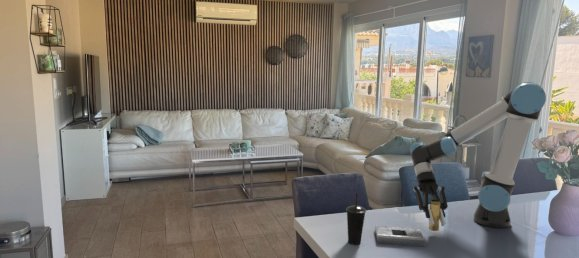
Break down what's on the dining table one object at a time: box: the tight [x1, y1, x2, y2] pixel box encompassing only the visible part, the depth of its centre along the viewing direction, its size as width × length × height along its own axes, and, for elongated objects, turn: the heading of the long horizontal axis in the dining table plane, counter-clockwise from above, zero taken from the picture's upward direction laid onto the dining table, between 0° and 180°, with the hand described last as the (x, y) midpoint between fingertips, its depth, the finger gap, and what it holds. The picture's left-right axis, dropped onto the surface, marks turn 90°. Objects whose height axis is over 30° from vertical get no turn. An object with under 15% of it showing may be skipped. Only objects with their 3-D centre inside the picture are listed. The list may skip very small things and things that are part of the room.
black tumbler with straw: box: [345, 192, 367, 246], centre depth 162 cm, size 8×8×20 cm
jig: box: [374, 225, 426, 247], centre depth 168 cm, size 18×12×3 cm, turn 83°
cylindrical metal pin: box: [428, 199, 441, 232], centre depth 171 cm, size 4×4×12 cm
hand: (438, 225), depth 168 cm, fingers closed on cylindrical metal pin, 4 cm apart
